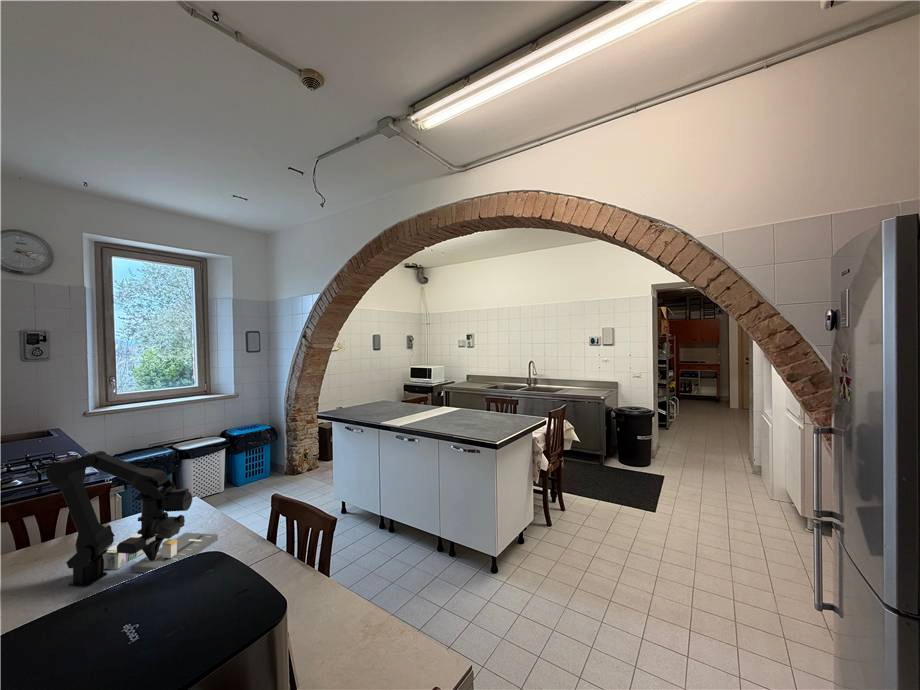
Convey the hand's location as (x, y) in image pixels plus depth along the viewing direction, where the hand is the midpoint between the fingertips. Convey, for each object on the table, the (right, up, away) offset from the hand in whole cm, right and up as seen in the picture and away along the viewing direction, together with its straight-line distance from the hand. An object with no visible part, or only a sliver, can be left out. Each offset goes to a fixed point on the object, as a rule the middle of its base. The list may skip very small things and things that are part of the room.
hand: (152, 560), depth 121 cm
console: (0, -5, +12) cm, 13 cm away
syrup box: (-16, -2, +17) cm, 23 cm away
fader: (+1, -2, +6) cm, 7 cm away
